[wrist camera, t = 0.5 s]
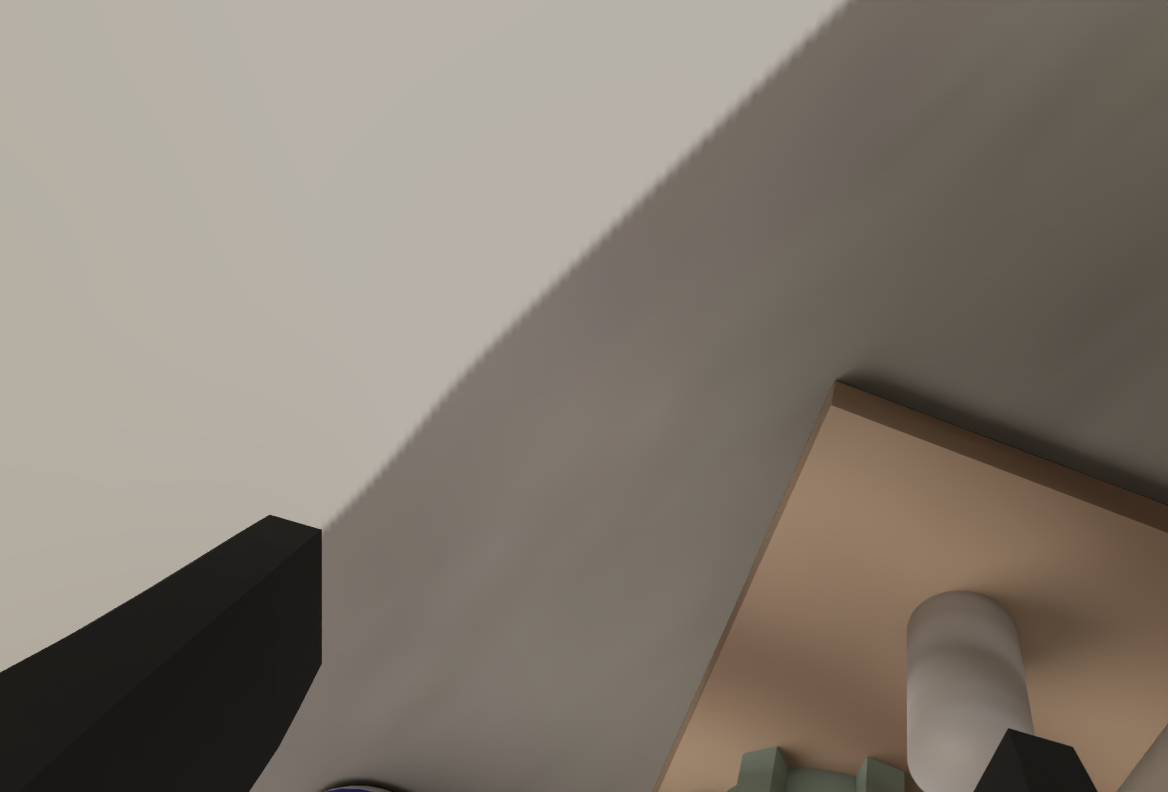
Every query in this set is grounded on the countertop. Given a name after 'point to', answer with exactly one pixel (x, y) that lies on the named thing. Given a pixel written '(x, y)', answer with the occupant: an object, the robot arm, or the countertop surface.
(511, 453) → the countertop surface
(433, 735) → the countertop surface
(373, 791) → the energy drink
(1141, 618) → the gear board
